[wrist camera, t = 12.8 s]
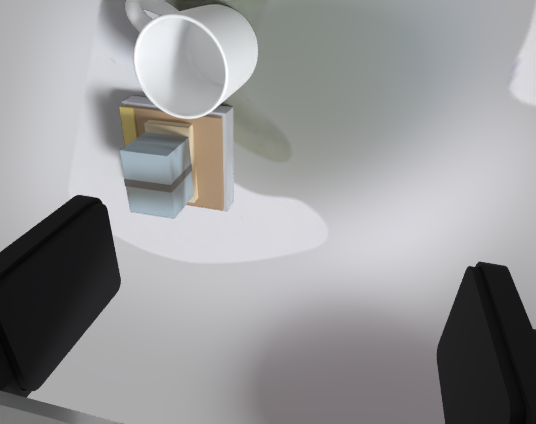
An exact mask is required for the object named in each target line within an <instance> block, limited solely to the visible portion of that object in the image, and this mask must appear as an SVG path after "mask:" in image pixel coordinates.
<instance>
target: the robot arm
mask: <svg viewBox="0 0 536 424" xmlns="http://www.w3.org/2000/svg"><path fill="white" fill-rule="evenodd" d="M120 284H121V278H120V273H119V268H118V263H117V257H116V252H115V247H114V242H113V237H112V231H111V226H110V220H109V215H108V210H107V207H106V206H105V205H104V204H102V201H101V200H100V199H98V198H95V197H89V196H83V195H77V196H75V197H73V198H72V199H70V200H69V201H68V202H66V203H65V204H64V205H62V206H61V207H60V208H58V209H57V210H56V211H54V212H53V213H52V214H51V215H49V216H48V217H46V218H45V219H44V220H42V221H41V222H40V223H38V224H37V225H36V226H34V227H33V228H32V229H30V230H29V231H28V232H26V233H25V234H24V235H22V236H21V237H20V238H18V239H17V240H16V241H14V242H13V243H12V244H10V245H9V246H8V247H6V248H5V249H4V250H2V251H1V252H0V424H123V423H119V422H115V421H111V420H108V419H104V418H101V417H96V416H93V415H89V414H86V413H82V412H78V411H74V410H70V409H67V408H63V407H59V406H56V405H52V404H48V403H44V402H40V401H37V400H33V399H29V398H27V396H28V395H29V394H30V393H31V391H35V390H37V389H39V388H40V387H41V385H42V384H43V383H44V382H45V381H46V379H47V378H48V377H49V376H50V374H51V373H52V372H53V371H54V370H55V368H56V367H57V366H58V365H59V363H60V362H61V361H62V360H63V358H64V357H65V356H66V355H67V353H68V352H69V351H70V350H71V349H72V347H73V346H74V345H75V344H76V342H77V341H78V340H79V339H80V338H81V336H82V335H83V334H84V333H85V331H86V330H87V329H88V328H89V327H90V325H91V324H92V323H93V322H94V320H95V319H96V318H97V317H98V315H99V314H100V313H101V312H102V311H103V309H104V308H105V307H106V306H107V304H108V303H109V302H110V300H111V299H112V298H113V297H114V296H115V294H116V293H117V292H118V290H119V288H120ZM437 365H438V372H439V380H440V386H441V395H442V402H443V410H444V418H445V424H536V330H535V329H533V328H532V326H531V324H530V321H529V319H528V316H527V314H526V311H525V309H524V306H523V304H522V301H521V299H520V297H519V294H518V292H517V289H516V287H515V284H514V282H513V279H512V277H511V274H510V272H509V270H508V268H507V267H506V266H502V265H497V264H491V263H485V262H478V263H477V264H476V266H475V267H471V266H469V267H468V268H467V269H466V271H465V274H464V277H463V279H462V282H461V285H460V287H459V290H458V293H457V295H456V298H455V301H454V304H453V306H452V309H451V312H450V315H449V317H448V320H447V322H446V325H445V328H444V330H443V334H442V336H441V338H440V341H439V344H438V348H437Z"/></svg>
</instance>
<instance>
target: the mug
mask: <svg viewBox="0 0 536 424" xmlns="http://www.w3.org/2000/svg"><path fill="white" fill-rule="evenodd" d="M143 10H147V11H151V12H153V13H156V14H158V15H160V16H159V17H157V18H155V19H152V18H150V17H149V16H148V15H147V14H146V13H145V12H144V11H143ZM125 11H126V15H127V17H128V19H129V20H130V22H131V23H132V24H133V26H134V27H135V28H136V29H137V30H138V31H139V32H140V34H139V36H138V38H137V40H136V44H135V48H134V57H133V60H134V69H135V73H136V77H137V80H138V82H139V84H140V86H141V88H142V90H143V92H144V93H145V95H146V96H147V97H148V98H149V100H150V101H151V102H152V103H153V104H154V105H155V106H157V107H158V108H159V109H160V110H162V111H164V112H165V113H167V114H169V115H172V116H175V117H178V118H183V119H194V118H199V117H202V116H205V115H207V114H208V113H210V112H212V111H213V110H214V109H215V108H216V107H218V106H219V105H220V104H221V103H222V102H223V101H225V100H226V99H227V98H228V97H229V96H230V95H232V94H233V93H234V92H235V91H236V90H237V89H239V88H240V87H241V86H242V85H243V84H244V83H245V82H246V81H247V80H248V79H249V77H250V76H251V75H252V73H253V71H254V69H255V66H256V63H257V58H258V45H257V40H256V36H255V33H254V31H253V29H252V27H251V25H250V24H249V23H248V21H247V20H246V19H245V18H244V17H243V16H242V15H241V14H240V13H239V12H237V11H236V10H234V9H232V8H230V7H227V6H224V5H218V4H212V5H204V6H200V7H195V8H191V9H187V10H183V11H179V10H177V9H176V8H175V7H173V6H172V5H170V4H168V3H167V2H165V1H163V0H126V2H125Z"/></svg>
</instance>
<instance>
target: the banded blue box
mask: <svg viewBox="0 0 536 424" xmlns="http://www.w3.org/2000/svg"><path fill="white" fill-rule="evenodd" d="M144 126H145V133H144V134H142V135H141V136H139V137H138V138H137V139H135V140H134V141H132V142H131V143H129V144H128V145H127V146H125V147H124V148H122V149H121V150H120V155H121V161H122V167H123V172H124V178H125V179H124V182H125V186H126V189H127V195H128V201H129V206H130V212H133V213H140V214H146V215H153V216H159V217H166V218H172V219H175V217H176V216H177V215H178V214H179V213H180V211H181V210H182V209H183V208H184V206H185V205H186V204H187V203H188V202H191V203H195V201H196V200H197V199H198V189H197V176H196V163H195V150H194V136H193V124H185V123H175V122H166V121H157V120H148V121H147V122H145V123H144Z"/></svg>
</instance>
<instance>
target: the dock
mask: <svg viewBox="0 0 536 424" xmlns="http://www.w3.org/2000/svg"><path fill="white" fill-rule="evenodd" d="M119 109H120V116H121V123H122V129H123V136H124V143H125V146H127V145H128V144H129V143H131V142H132V141H134V140H135V139H137V138H138V137H139V136H141V135H142V134H144V133H145V126H144V123H145V122H147V121H148V120H157V121H166V122H175V123H185V124H193V136H194V150H195V163H196V176H197V189H198V199H197V200H196V201H195V203H191V202H188V203H187V204H186V205H190V206H196V207H202V208H208V209H214V210H221V211H228V210H229V208H230V207H231V205H232V204H233V202H234V200H233V107H229V106H220V105H219V106H218V107H216V108H215V109H214V110H213V111H212V112H210V113H208V114H207V115H205V116H202V117H199V118H194V119H183V118H178V117H175V116H172V115H169V114H167V113H165V112H164V111H162V110H160V109H159V108H158V107H157V106H155V105H154V104H153V103H152V102H151V101H150V100H149V98H148V97H142V96H131V97H129V98H127V99H125V100H123V101H122V107H119Z"/></svg>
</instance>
